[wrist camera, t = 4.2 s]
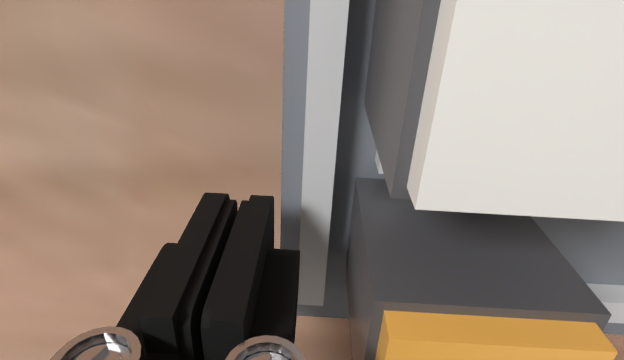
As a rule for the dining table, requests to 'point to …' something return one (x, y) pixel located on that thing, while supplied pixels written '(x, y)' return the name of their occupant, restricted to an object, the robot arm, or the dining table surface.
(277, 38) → the dining table surface
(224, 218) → the robot arm
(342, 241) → the panel
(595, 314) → the block
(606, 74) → the toggle plain
